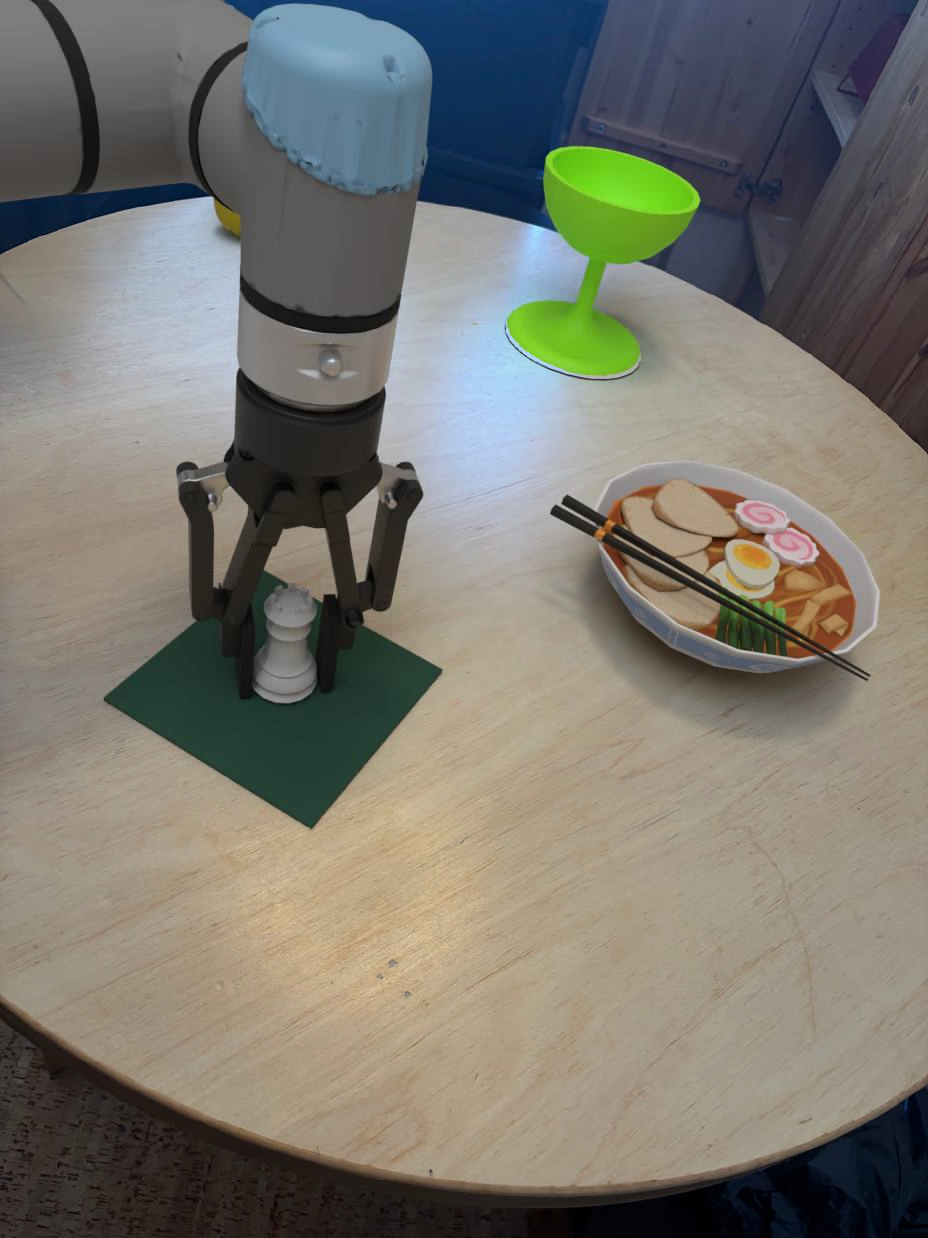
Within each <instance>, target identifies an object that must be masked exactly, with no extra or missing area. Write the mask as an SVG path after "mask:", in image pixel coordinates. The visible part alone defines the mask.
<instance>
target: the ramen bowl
mask: <svg viewBox="0 0 928 1238" xmlns="http://www.w3.org/2000/svg"><path fill="white" fill-rule="evenodd" d="M560 504H561V505H562V506H563V507H565V508H563V507H561V506H559V505H558V504H554V505H553V506H552V507H551V509H550V512H549V515H550V516H552V517H554V518H556V519H558V520H559V521H561V522H563V523H566V525H569V526H571V527H573V528H574V529H577V530H579V531H580V532H582V533H584V534H586V535H588V536H590V537H592V538H595V539H597V545H598V550H599V557H600V562H601V565H602V567H603V570H604V573H605V575H606V577H607V579H608V581H609V582H610V584H611V585H612V587H613V589H614V590H615V591H616V593H617V594H618V596H619V597H620V598H621V601H622V602H623V603H624V604H625V606H626V607H627V609H628V611H629V612H630V613H631V615H632V616H633V618H634V619H635V620H636V622H638V623H639V624H640V625H641V626H642V627H644V628H645V629H647V630H648V631H649V632H651V634H653V635H654V636H656V637H657V638H658V639H659V640H660V641H662V642H663V643H664V644H665V645H667V646H668V647H669V648H671V649H673V650H675V651H678V652H680V653H683V654H685V655H687V656H689V657H691V658H694V659H696V660H699V661H701V662H704V663H706V664H708V665H710V666H711V667H715V668H722V669H729V670H737V671H742V672H747V673H754V674H755V673H756V674H770V673H776V672H781V671H785V670H790V669H796V668H799V667H804V666H805V667H806V666H809V665H813V664H818V663H822V662H827V661H828V662H829V663H831V664H833V665H835V666H837V667H839V668H841V669H842V670H845V671H846V672H848V673H850V674H852V675H854V676H856V677H858V678H860V679H862V680H863V681H865V682H868V681H869V678H870V677H871V674H870V673H869V672H867V671H865V670H864V669H862V668H860V667H858V666H857V665H855V664H853V663H852V662H850V661H849V660H848V659H847V660H846V659H845V658H843V657H841V656H842V655H845V654H846V653H849V652H850V651H851V650H852V649H853V648H854V647H856V646H857V645H858V644H859V643H860V642H861V641H862V640H863V639H864V638H866V637H867V636H868V635H869V634H870V633H871V632H872V631H874V630H875V629H876V628H877V625H878V615H879V607H880V600H881V599H880V597H881V590H880V588H879V586H878V583H877V581H876V578H875V576H874V574H873V572H872V569H871V567H870V565H869V562H868V560H867V558H866V555H865V553H864V552H862V550H861V549H860V548H859V547H858V546H857V545H856V544H855V543H854V542H853V541H852V539H851V538H849V537H848V535H847V534H845V532H844V531H843V530H842V529H841V528H840V527H839V526H838V525H837V524H836V523H835V522H834V521H833V520H832V519H831V518H830V517H829V516H827V515H826V514H825V513H823V512H821V511H820V510H819V509H817V508H815V507H814V506H812V505H810V503H808V502H806V501H805V500H803V499H802V498H800V497H799V496H797V495H796V494H794V493H793V492H791V491H790V490H788V489H787V488H785V487H782V486H780V485H778V484H775V483H772V482H770V481H767V480H765V479H763V478H761V477H758V476H755V475H752V474H750V473H747V472H745V471H742V470H740V469H737V468H733V467H729V466H722V465H717V464H712V463H705V462H700V461H694V460H689V459H680V460H679V459H677V460H669V461H658V462H657V461H655V462H645V463H641V464H639V465H637V466H634V467H632V468H630V469H629V470H625V472H622V473H621V474H618V475H616V476H614V477H612V478H610V479H609V480H608V481H607V483H606V485H605V487H604V489H603V490H602V493H601V494H600V496H599V498H598V500H597V502H596V503H595V505H594V507H593V508H591V507H590V506H588V505H586V504H584V503H582V502H581V501H579V500H578V499H576V498H574V497H572V496H571V495H569V494H565V496H563V497H562V500H561V503H560ZM566 508H567V509H569V510H571V511H573V512H574V513H576V514H578V515H579V516H578V515H576V514H574V513H573V512H571V511H568V510H567V509H566ZM580 516H582V517H583V518H584V519H583V518H581V517H580ZM586 519H587V520H589V521H591V522H592V523H594V524H595V525H594V524H592V523H590V522H589V521H586ZM835 659H836V660H835ZM838 660H839V661H838ZM842 663H843V664H842ZM844 664H845V665H844ZM846 665H847V666H846ZM848 666H849V667H850V668H849V667H848ZM851 668H853V669H854V670H853V669H851ZM855 670H856V671H857V672H856V671H855ZM858 672H859V673H858ZM862 674H863V675H862ZM864 675H865V676H867V677H869V678H867V677H865V676H864Z"/></svg>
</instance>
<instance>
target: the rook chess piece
mask: <svg viewBox="0 0 928 1238" xmlns="http://www.w3.org/2000/svg"><path fill="white" fill-rule="evenodd" d="M287 583H288V588H287V589H283V587H282V586H281V585H279V586H277V587H276V588H275V590H274V593H271V595H270V596H269V597H268V598H267V600H266V601H265V602H264V612H265V614H266V616H267V617H268V619H267V622H266V627H267V629H268V631H269V634H268V637H267V641H266V644H265V645H264V646H263V647H262V649H260V650H259V651H258V653H257V654H256V656H255V657H254V662H253V678H252V687H253V689H254V690H255V691H256V692H257V693H258V694H259V695H260V696H262V697H263V698H264V699H266V700H269V701H271V702H274V703H280V704H289V703H293V702H297V701H300V700H302V699H303V698H305V697H306V696H308V695H309V694H311V693H312V691H313V689H314V687H315V686H316V681H317V665H316V662H315V660H314V658H313V656H312V654H311V653H310V651H309V649H308V648H307V635H308V634H309V632H310V630H311V623H310V622H311V621H312V620H313V619H314V617H315V616H316V614H317V606H316V604H315V603H314V601H313V599H312V597H313V596H312V595H310V589H308V588H307V587H305V586H302V587H301V588H300V589H299V590H297V589H298V588H297V583H291V582H287ZM296 588H297V589H296ZM300 590H301V591H300ZM308 595H310V596H308Z"/></svg>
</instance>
